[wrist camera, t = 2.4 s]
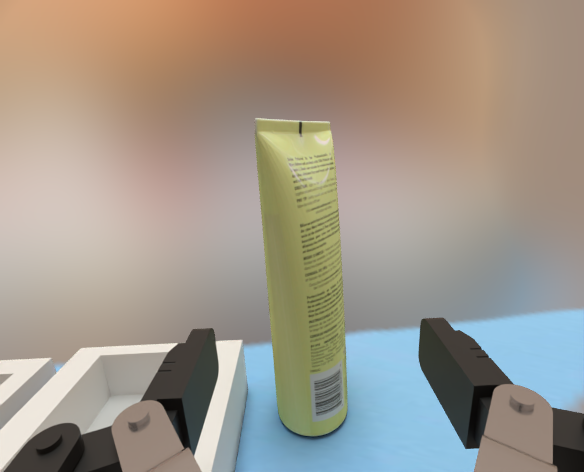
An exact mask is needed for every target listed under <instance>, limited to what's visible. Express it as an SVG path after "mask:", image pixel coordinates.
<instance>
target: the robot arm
mask: <svg viewBox="0 0 584 472" xmlns="http://www.w3.org/2000/svg"><path fill="white" fill-rule="evenodd" d="M419 362H420V366H421V369H422V371H423V373H424V375H425V377H426V378H427V380H428V382H429V384H430V386H431V387H432V389H433V391H434V393H435V395H436V396H437V398H438V400H439V402H440V404H441V405H442V407H443V409H444V411H445V413H446V414H447V416H448V418H449V420H450V422H451V423H452V425H453V427H454V429H455V431H456V432H457V434H458V436H459V438H460V440H461V441H462V443H463V445H464V447H465V449H474V448H479V452H478V456H477V460H476V465H475V469H474V472H584V414H582V413H577V412H572V411H567V410H561V409H556V408H552V407H551V406H550V404H549V403H548V402H547V401H546V400H545V399H544V398H543V397H542V396H540V395H539V394H537V393H536V392H534V391H532V390H530V389H528V388H525V387H522V386H519V385H514V384H513V383H512V382H511V381H510V379H509V378H508V377H507V376H506V375H505V374H504V373H503V372H502V370H501V369H500V368H499V367H498V366H497V365H496V364H495V363H494V361H493V360H492V359H491V358H489V356H488V355H487V354H486V353H485V351H484V350H482V349H481V347H480V346H479V345H478V344H477V342H476V341H475V340H474V339H473V338H471V337H470V336H468V335H467V334H465V333H463V332H462V331H460V330H458V331H455V330H454V329H453V328H452V327H451V326H450V324H449V323H448V322H447V321H446V320H445V319H444V318H429V319H428V318H427V319H422V321H421V326H420V340H419ZM218 373H219V362H218V355H217V348H216V341H215V334H214V330H213V329H212V328H209V329H193V330H192V331H191V333H190V335H189V337H188V339H187V341H186V343H178V344H177V345H176V346H175V347H174V348H172V349H171V350H170V351H169V352H168V353H167V355H166V357H165V358H164V360H163V362H162V364H161V366H160V367H159V369H158V372H157V373H156V374H155V376H154V378H153V380H152V381H151V383H150V385H149V387H148V388H147V390H146V392H145V394H144V395H143V397H142V399H141V401H140V402H138V403H135V404H133V405H131V406H129V407H128V408H126V409H125V410H123V411H122V412H121V413H120V414H119V415H118V416H117V417H116V419H115V420H114V422H113V424H112V425H111V426H109V427H106V428H102V429H99V430H96V431H92V432H89V433H86V434H82V435H81V432H80V428H79V427H78V426H77V425H76V424H74V423H61V424H57V425H54V426H51V427H49V428H47V429H45V430H43V431H41V432H40V433H38V434H37V435H35V436H34V437H33V438H32V439H30V440H29V441H28V442H27V443H26V444H25V445H24V447H23V448H22V449H21V450H20V451H19V453H18V454H17V455H16V456H15V458H14V459H13V460H12V462H11V463H10V464H9V465H8V467H7V468H6V469H5V470H4V472H202V471H201V469H200V467H199V465H198V464H197V462H196V460H195V458H194V455H195V452H196V449H197V445H198V442H199V439H200V435H201V432H202V429H203V425H204V422H205V419H206V416H207V412H208V409H209V406H210V402H211V399H212V396H213V392H214V389H215V386H216V383H217V379H218Z"/></svg>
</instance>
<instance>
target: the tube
mask: <svg viewBox="0 0 584 472" xmlns="http://www.w3.org/2000/svg"><path fill="white" fill-rule="evenodd" d="M255 143H256V156H257V169H258V180H259V191H260V202H261V214H262V225H263V238H264V250H265V263H266V275H267V287H268V299H269V311H270V322H271V335H272V346H273V358H274V370H275V383H276V395H277V405H278V413H279V416H280V418H281V420H282V422H283V423H284V425H285V426H286V427H287V428H289V429H290V430H291V431H293V432H295V433H297V434H300V435H304V436H319V435H324V434H327V433H330V432H331V431H333V430H335V429H336V428H338V427H339V426H340V425H341V423H342V422H343V421H344V419H345V417H346V414H347V375H346V346H345V322H344V302H343V281H342V262H341V245H340V229H339V228H340V226H339V212H338V198H337V184H336V183H337V182H336V168H335V157H334V147H333V139H332V134H331V130H330V122H315V121H312V122H311V121H290V120H273V119H262V118H261V119H260V118H256V119H255Z"/></svg>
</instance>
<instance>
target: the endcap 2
mask: <svg viewBox="0 0 584 472" xmlns="http://www.w3.org/2000/svg"><path fill="white" fill-rule="evenodd" d="M177 344H178V343H172V344H152V345H133V346H114V347H94V348H81V349H80V350H79V351H78V352H77V353H76V354H75V355H74V356H73V357H72V358H71V359H70V360H69V361H68V362H67V363H66V364H65V365H64V366H63V367H62V368H61V369H60V370H59V371H58V372H57V373H56V374H55V375H54V376H53V377H52V378H51V379H50V380H49V381H48V382H47V383H46V384H45V385H44V386H43V387H42V388H41V389H40V390H39V391H38V392H37V393H36V394H35V395H34V396H33V397H32V398H31V399H30V400H29V401H28V402H27V403H26V404H25V405H24V406H23V407H22V408H21V409H20V410H19V411H18V412H17V413H16V414H15V415H14V416H13V417H12V418H11V420H10V421H9V422H8V423H7V424H6V425H5V426H4V427H3V428H2V429H1V430H0V472H4V470H5V469H6V468H7V467H8V465H9V464H10V463H11V462H12V460H13V459H14V458H15V456H16V455H17V454H18V453H19V451H20V450H21V449H22V448H23V447H24V445H25V444H26V443H27V442H28V441H29V440H30V439H32V438H33V437H34V436H35V435H37V434H38V433H40V432H41V431H43V430H45V429H47V428H49V427H51V426H54V425H57V424H61V423H74V424H76V425H77V426H78V427H79V428H80V432H81V435H82V434H86V433H89V432H92V431H96V430H99V429H102V428H106V427H109V426H111V425H112V424H113V422H114V420H115V419H116V417H117V416H118V415H119V414H120V413H121V412H122V411H123V410H125V409H126V408H128V407H129V406H131V405H133V404H135V403H138V402H140V401H141V399H142V397H143V395H144V394H145V392H146V390H147V388H148V387H149V385H150V383H151V381H152V380H153V378H154V376H155V374H156V373H157V372H158V369H159V367H160V366H161V364H162V362H163V360H164V358H165V357H166V355H167V353H168V352H169V351H170V350H171V349H172V348H174V347H175V346H176V345H177ZM216 348H217V355H218V362H219V373H218V379H217V383H216V386H215V389H214V392H213V396H212V399H211V402H210V406H209V409H208V412H207V416H206V419H205V422H204V425H203V429H202V432H201V435H200V439H199V442H198V445H197V449H196V452H195V455H194V458H195V460H196V462H197V464H198V465H199V467H200V469H201V471H202V472H235V466H236V460H237V454H238V448H239V442H240V436H241V430H242V424H243V418H244V412H245V406H246V400H247V394H248V384H247V376H246V367H245V359H244V350H243V341H242V340H231V341H216Z"/></svg>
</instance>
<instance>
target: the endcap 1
mask: <svg viewBox="0 0 584 472" xmlns="http://www.w3.org/2000/svg"><path fill="white" fill-rule="evenodd" d="M55 374H56V370H55V367H54V364H53V361H52V358H42V359H41V358H40V359H20V360H1V361H0V430H1V429H2V428H3V427H4V426H5V425H6V424H7V423H8V422H9V421H10V420H11V418H12V417H13V416H14V415H15V414H16V413H17V412H18V411H19V410H20V409H21V408H22V407H23V406H24V405H25V404H26V403H27V402H28V401H29V400H30V399H31V398H32V397H33V396H34V395H35V394H36V393H37V392H38V391H39V390H40V389H41V388H42V387H43V386H44V385H45V384H46V383H47V382H48V381H49V380H50V379H51V378H52V377H53V376H54V375H55Z"/></svg>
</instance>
